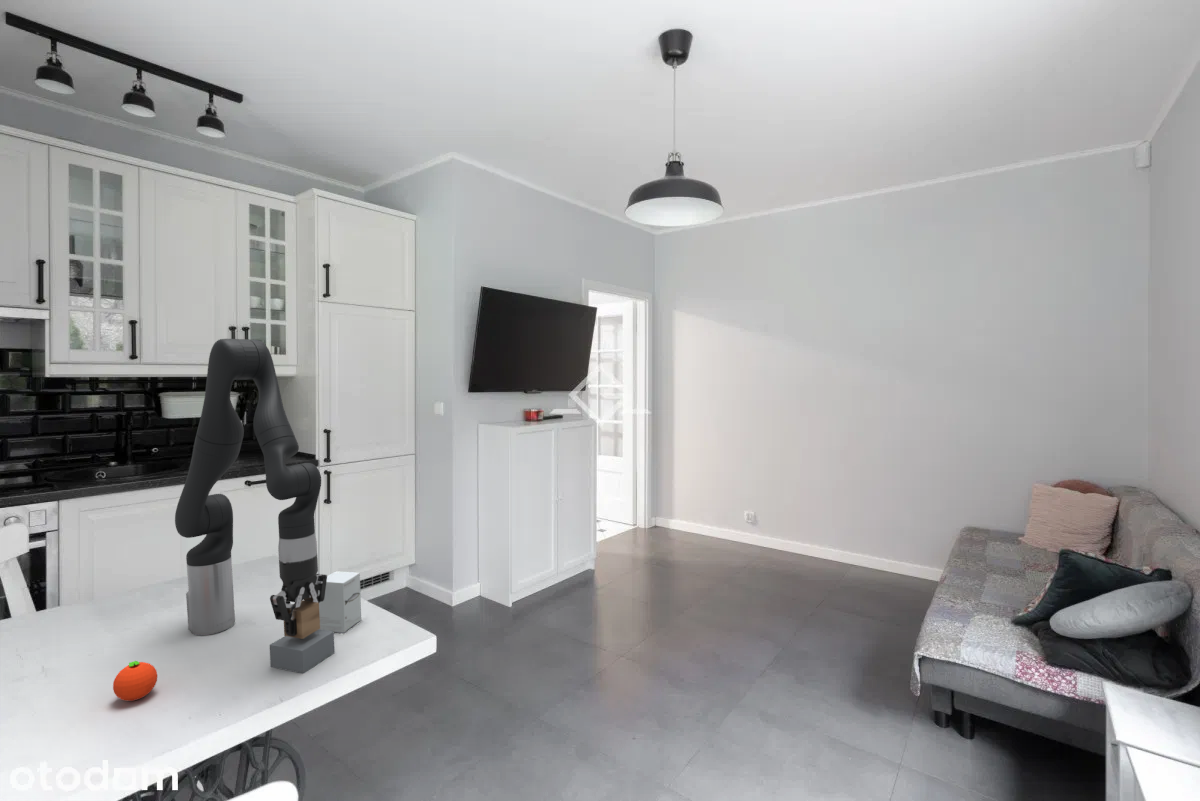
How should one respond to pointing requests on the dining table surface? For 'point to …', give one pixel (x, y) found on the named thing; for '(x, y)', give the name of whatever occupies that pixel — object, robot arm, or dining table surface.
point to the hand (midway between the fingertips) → (301, 629)
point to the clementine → (135, 681)
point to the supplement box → (340, 602)
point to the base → (302, 651)
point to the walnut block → (306, 619)
